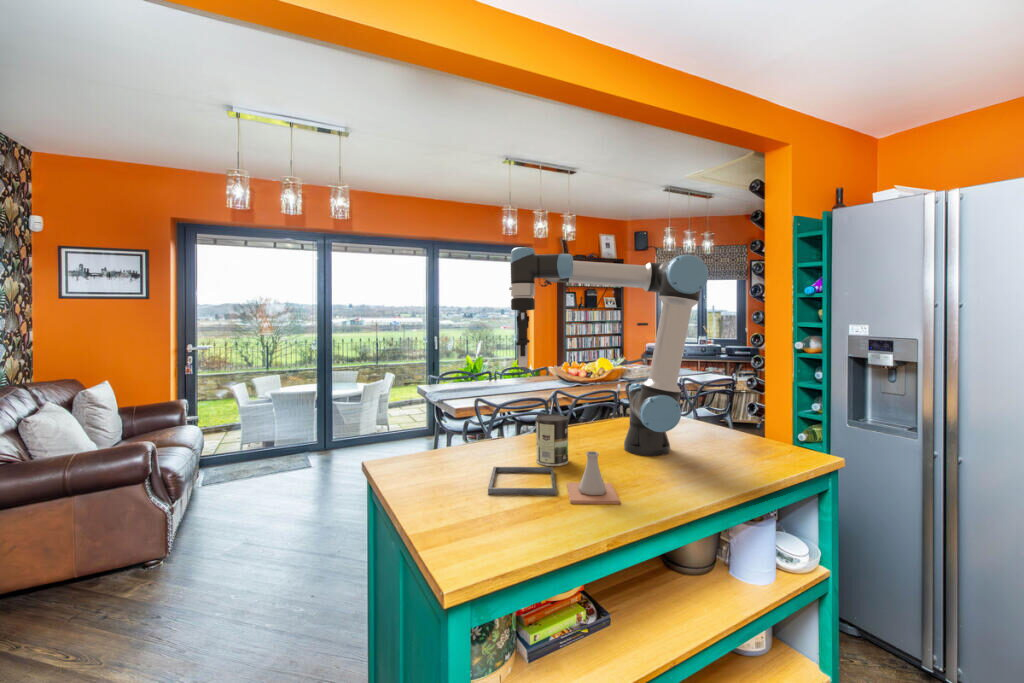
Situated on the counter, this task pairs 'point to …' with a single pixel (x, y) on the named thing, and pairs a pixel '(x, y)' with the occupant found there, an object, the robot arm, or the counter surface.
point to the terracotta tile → (581, 498)
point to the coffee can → (552, 440)
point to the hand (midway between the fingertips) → (523, 364)
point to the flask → (592, 476)
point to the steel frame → (522, 490)
